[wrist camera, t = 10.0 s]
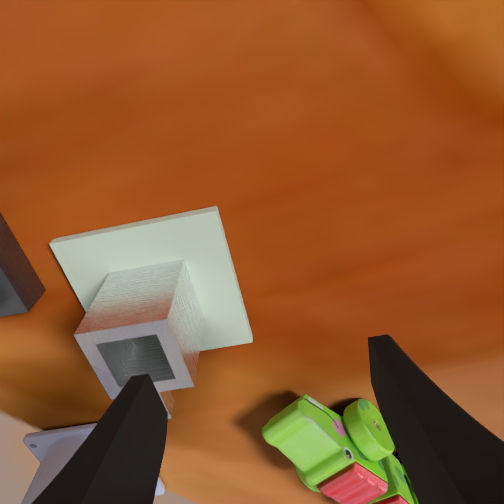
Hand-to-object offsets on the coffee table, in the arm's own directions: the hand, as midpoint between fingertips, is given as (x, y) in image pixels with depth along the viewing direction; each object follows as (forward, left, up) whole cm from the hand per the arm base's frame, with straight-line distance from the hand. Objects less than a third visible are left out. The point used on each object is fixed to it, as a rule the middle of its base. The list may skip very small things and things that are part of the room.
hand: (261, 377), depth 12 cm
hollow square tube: (-2, +6, -9) cm, 11 cm away
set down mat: (-2, +6, -9) cm, 11 cm away
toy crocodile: (-19, -5, -10) cm, 22 cm away
